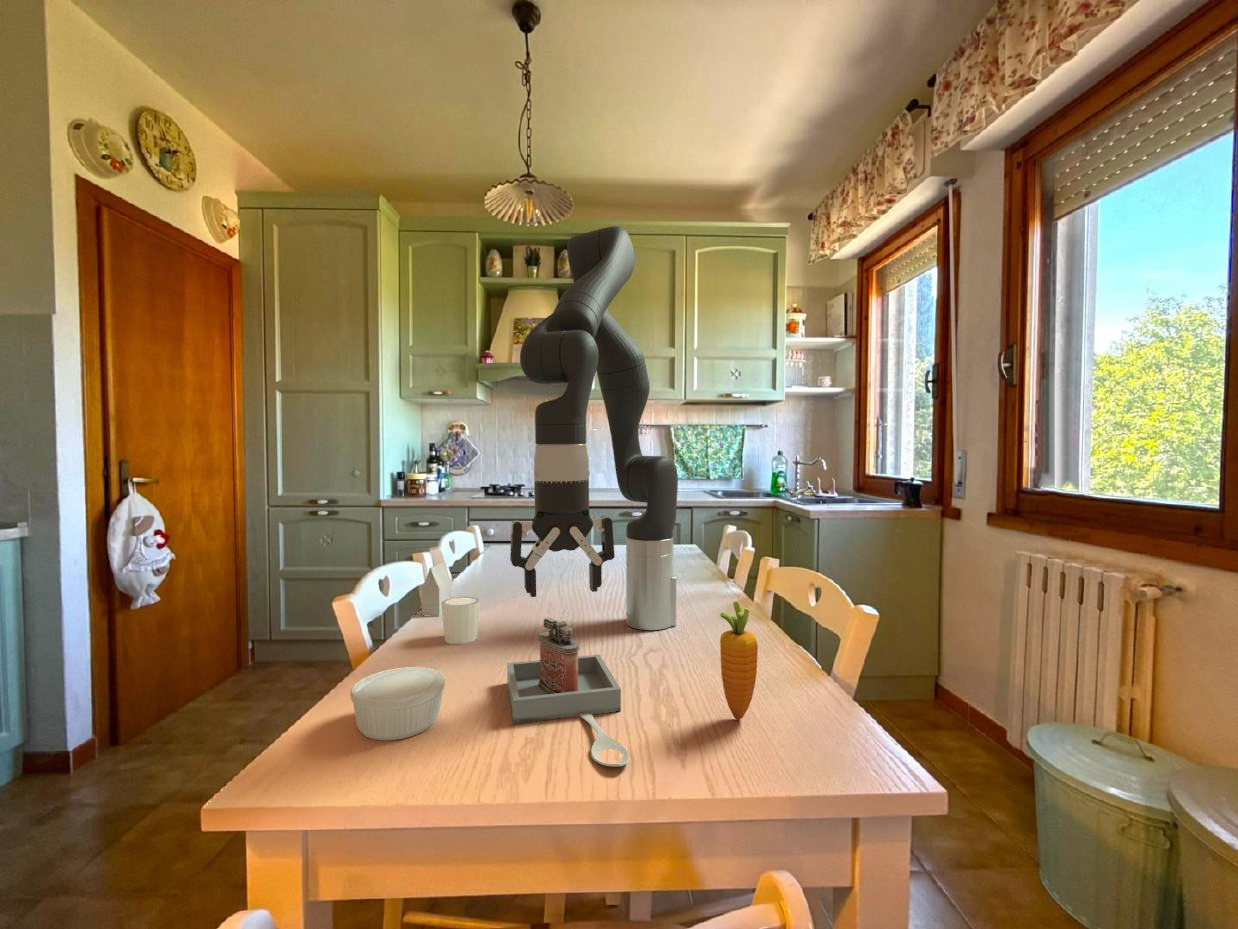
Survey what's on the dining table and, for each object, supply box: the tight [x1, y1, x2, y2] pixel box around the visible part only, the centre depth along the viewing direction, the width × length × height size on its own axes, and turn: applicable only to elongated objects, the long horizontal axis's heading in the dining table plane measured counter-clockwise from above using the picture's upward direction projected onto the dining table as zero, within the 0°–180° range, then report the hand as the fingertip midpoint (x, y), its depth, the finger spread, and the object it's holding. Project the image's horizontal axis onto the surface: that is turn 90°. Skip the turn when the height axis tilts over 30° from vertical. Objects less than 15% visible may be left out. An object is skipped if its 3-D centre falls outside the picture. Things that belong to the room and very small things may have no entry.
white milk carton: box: [421, 561, 453, 617], centre depth 121 cm, size 4×7×10 cm, turn 175°
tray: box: [506, 654, 622, 725], centre depth 80 cm, size 14×13×3 cm
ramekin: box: [350, 666, 446, 741], centre depth 72 cm, size 11×11×5 cm
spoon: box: [579, 713, 630, 767], centre depth 71 cm, size 4×21×2 cm, turn 19°
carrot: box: [719, 601, 759, 721], centre depth 73 cm, size 5×5×15 cm
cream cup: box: [441, 596, 481, 645], centre depth 104 cm, size 7×7×7 cm
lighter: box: [538, 616, 580, 694], centre depth 80 cm, size 8×3×10 cm, turn 39°
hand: (563, 593), depth 79 cm, fingers open, 8 cm apart
